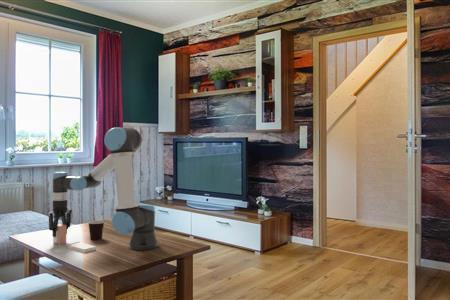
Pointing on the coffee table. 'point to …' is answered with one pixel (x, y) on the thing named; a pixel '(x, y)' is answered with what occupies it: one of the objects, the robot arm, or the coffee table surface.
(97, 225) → the coffee mug
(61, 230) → the stub
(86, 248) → the pad
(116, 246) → the coffee table surface
